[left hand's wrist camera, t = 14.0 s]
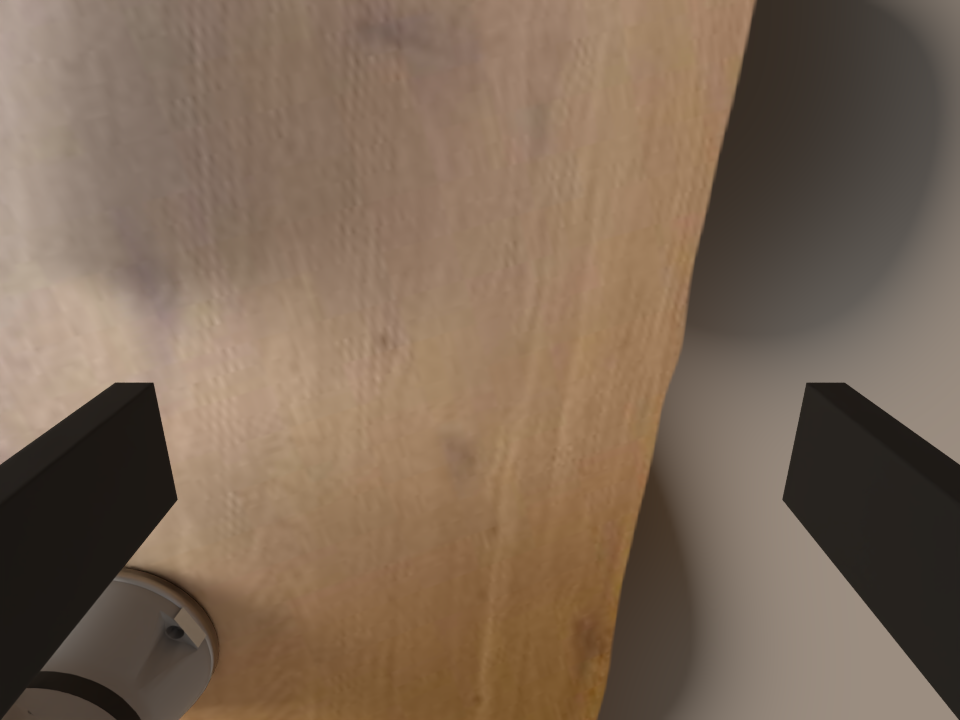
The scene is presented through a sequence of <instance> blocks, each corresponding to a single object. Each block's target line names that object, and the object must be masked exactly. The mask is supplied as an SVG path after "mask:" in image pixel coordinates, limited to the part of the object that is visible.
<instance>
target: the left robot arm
mask: <svg viewBox="0 0 960 720" xmlns="http://www.w3.org/2000/svg"><path fill="white" fill-rule="evenodd" d="M177 500H178V499H177V494H176V490H175V485H174V480H173V475H172V470H171V465H170V461H169V456H168V451H167V446H166V441H165V436H164V431H163V427H162V422H161V417H160V412H159V407H158V402H157V398H156V393H155V388H154V383H114V384H113V385H111V386H110V387H109V388H107V389H106V390H104V391H103V392H102V393H100V394H99V395H97V396H96V397H95V398H93V399H92V400H90V401H89V402H88V403H86V404H85V405H83V406H82V407H81V408H79V409H78V410H76V411H75V412H74V413H72V414H71V415H69V416H68V417H67V418H65V419H64V420H62V421H61V422H60V423H58V424H57V425H55V426H54V427H53V428H51V429H50V430H48V431H47V432H46V433H44V434H43V435H41V436H40V437H39V438H37V439H36V440H34V441H33V442H32V443H30V444H29V445H27V446H26V447H25V448H23V449H22V450H20V451H19V452H18V453H16V454H15V455H13V456H12V457H11V458H9V459H8V460H6V461H5V462H4V463H2V464H1V465H0V720H179V719H180V718H181V717H182V716H183V715H184V714H185V713H186V712H187V711H188V710H189V709H190V708H191V707H192V706H193V704H194V703H195V702H196V701H197V700H198V698H199V697H200V696H201V694H202V693H203V692H204V690H205V689H206V687H207V685H208V683H209V681H210V679H211V677H212V675H213V673H214V671H215V668H216V665H217V662H218V657H219V643H218V638H217V634H216V631H215V629H214V626H213V624H212V622H211V621H210V619H209V617H208V616H207V614H206V613H205V611H204V610H203V609H202V608H201V607H200V605H199V604H198V603H197V602H196V601H195V600H194V599H193V598H191V597H190V596H189V595H188V594H187V593H185V592H184V591H183V590H181V589H180V588H178V587H177V586H175V585H173V584H172V583H170V582H168V581H166V580H164V579H162V578H159V577H157V576H155V575H152V574H149V573H146V572H143V571H139V570H134V569H129V568H123V567H124V566H125V565H126V563H127V562H128V561H129V560H130V558H131V557H132V556H133V555H134V553H135V552H136V551H137V550H138V548H139V547H140V546H141V545H142V543H143V542H144V541H145V540H146V538H147V537H148V536H149V535H150V533H151V532H152V531H153V530H154V528H155V527H156V526H157V525H158V523H159V522H160V521H161V520H162V518H163V517H164V516H165V515H166V513H167V512H168V511H169V510H170V508H171V507H172V506H173V505H174V503H175V502H176V501H177ZM783 501H784V502H785V503H786V505H787V506H788V507H789V508H790V510H791V511H792V512H793V513H794V515H795V516H796V517H797V518H798V520H799V521H800V522H801V523H802V525H803V526H804V527H805V528H806V530H807V531H808V532H809V533H810V535H811V536H812V537H813V538H814V540H815V541H816V542H817V543H818V545H819V546H820V547H821V548H822V550H823V551H824V552H825V553H826V554H827V556H828V557H829V558H830V560H831V561H832V562H833V563H834V565H835V566H836V567H837V568H838V570H839V571H840V572H841V573H842V575H843V576H844V577H845V578H846V580H847V581H848V582H849V583H850V584H851V586H852V587H853V588H854V590H855V591H856V592H857V593H858V594H859V596H860V597H861V598H862V599H863V601H864V602H865V603H866V604H867V606H868V607H869V608H870V609H871V611H872V612H873V613H874V614H875V616H876V617H877V618H878V619H879V621H880V622H881V623H882V624H883V626H884V627H885V628H886V629H887V631H888V632H889V633H890V634H891V636H892V637H893V638H894V639H895V641H896V642H897V643H898V644H899V646H900V647H901V648H902V649H903V651H904V652H905V653H906V654H907V656H908V657H909V658H910V659H911V661H912V662H913V663H914V664H915V665H916V667H917V668H918V669H919V671H920V672H921V673H922V674H923V676H924V677H925V678H926V679H927V681H928V682H929V683H930V684H931V686H932V687H933V688H934V689H935V691H936V692H937V693H938V694H939V695H940V697H941V698H942V699H943V701H944V702H945V703H946V704H947V705H948V707H949V708H950V709H951V710H952V712H953V713H954V714H955V715H956V717H957V718H958V719H959V720H960V465H959V464H958V463H956V462H955V461H954V460H952V459H951V458H949V457H948V456H947V455H945V454H944V453H942V452H941V451H940V450H938V449H937V448H935V447H934V446H933V445H931V444H930V443H928V442H927V441H926V440H924V439H923V438H921V437H920V436H919V435H917V434H916V433H914V432H913V431H912V430H910V429H909V428H907V427H906V426H905V425H903V424H902V423H900V422H899V421H898V420H896V419H895V418H893V417H892V416H891V415H889V414H888V413H886V412H885V411H884V410H882V409H881V408H879V407H878V406H877V405H875V404H874V403H872V402H871V401H870V400H868V399H867V398H865V397H864V396H862V395H861V394H860V393H858V392H857V391H855V390H854V389H853V388H851V387H850V386H849V385H847V384H846V383H806V388H805V393H804V398H803V402H802V407H801V412H800V417H799V422H798V427H797V431H796V436H795V441H794V446H793V451H792V456H791V461H790V465H789V470H788V475H787V480H786V485H785V490H784V494H783Z"/></svg>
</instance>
